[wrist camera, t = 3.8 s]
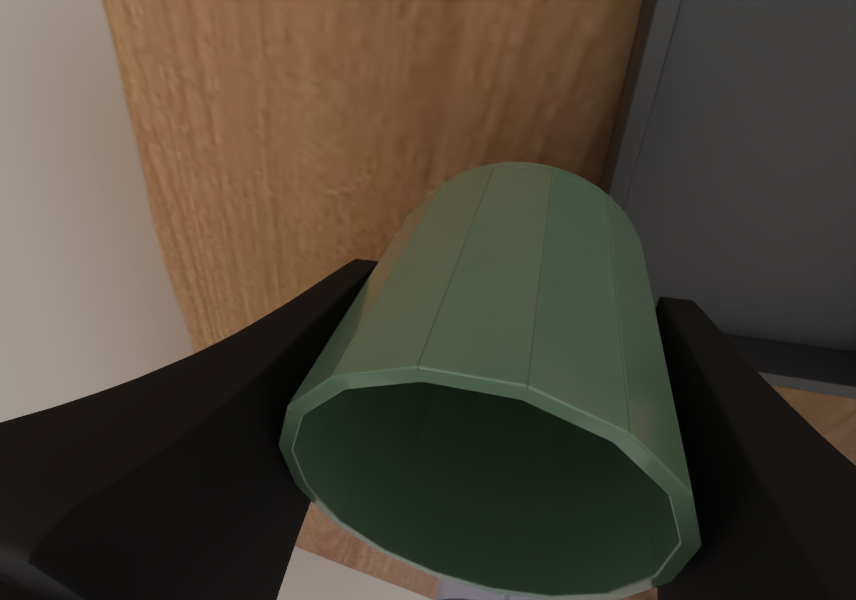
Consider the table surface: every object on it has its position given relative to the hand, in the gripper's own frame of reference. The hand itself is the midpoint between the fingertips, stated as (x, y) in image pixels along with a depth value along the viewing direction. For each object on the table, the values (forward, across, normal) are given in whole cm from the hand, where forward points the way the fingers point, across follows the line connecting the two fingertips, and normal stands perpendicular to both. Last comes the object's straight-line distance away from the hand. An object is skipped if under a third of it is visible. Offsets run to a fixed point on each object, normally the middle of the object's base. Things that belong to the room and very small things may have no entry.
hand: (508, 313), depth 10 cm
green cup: (+1, 0, 0) cm, 1 cm away
